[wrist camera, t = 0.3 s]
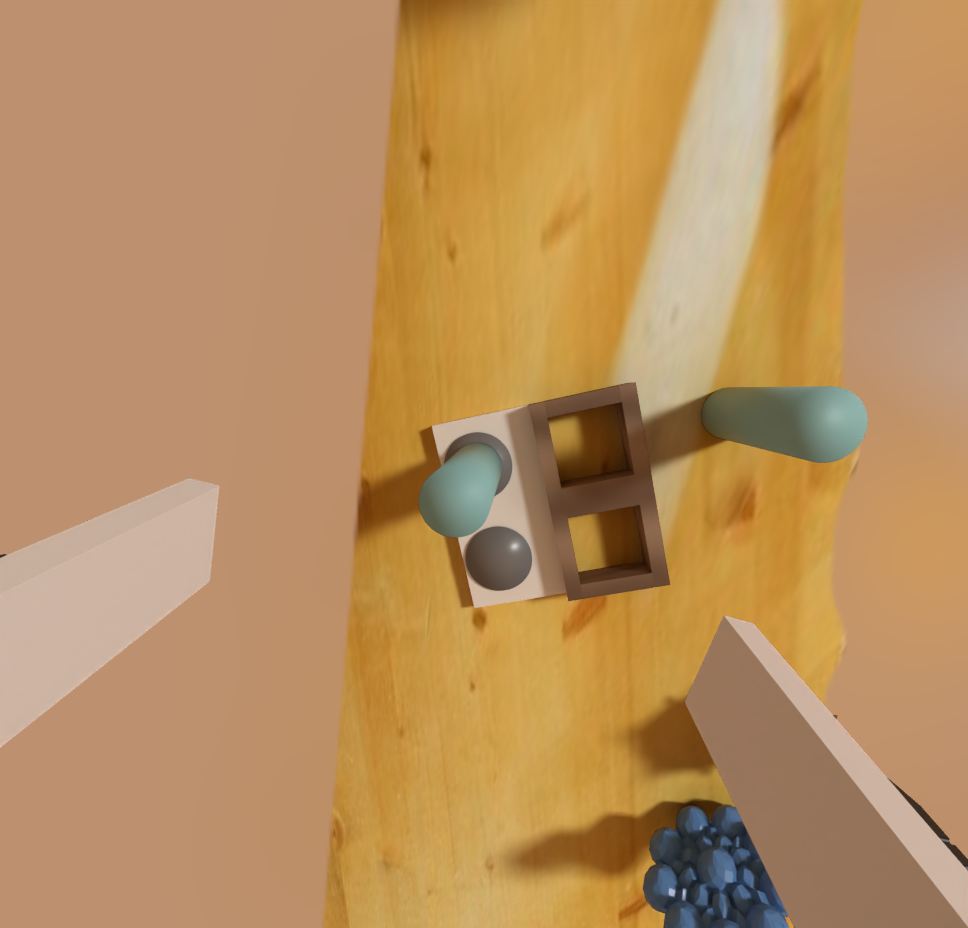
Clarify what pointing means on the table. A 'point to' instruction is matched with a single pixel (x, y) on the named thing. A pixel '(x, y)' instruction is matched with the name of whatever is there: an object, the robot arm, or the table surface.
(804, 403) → the teal pin
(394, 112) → the table surface
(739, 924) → the blue flower wheel
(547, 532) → the pattern plate
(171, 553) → the robot arm
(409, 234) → the table surface
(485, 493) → the pin
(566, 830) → the table surface
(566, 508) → the brown wooden peg holder
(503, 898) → the table surface
